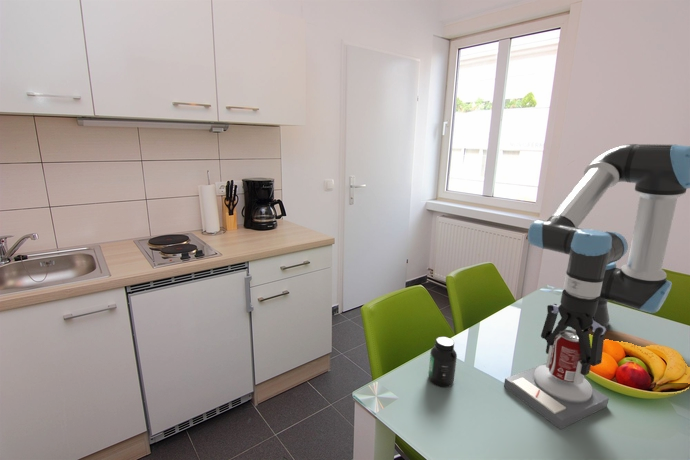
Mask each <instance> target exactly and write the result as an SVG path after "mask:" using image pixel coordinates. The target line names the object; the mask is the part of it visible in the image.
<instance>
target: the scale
mask: <svg viewBox="0 0 690 460" xmlns="http://www.w3.org/2000/svg"><path fill="white" fill-rule="evenodd" d="M546 363H547V362H545V363H543V364H540V365H538V366H534V367H532V368H529V369H527V370H524V371H521V372H518V373H515V374H512V375H509V376H507V377H505V378H504V381H503V382H504V383H503V387H504V388H505V389H507V390H508V391H509V392H511V393H512V394H513V395H515V396H516V397H517V396H518V397H517V398H519V399H520V400H521V401H522V402H524V403H525V404H527V405H528V406H530V408H531V409H533V410H534V411H535V412H537V413H538V414H540V415H541V416H542V417H543V418H545V419H546V420H548V421H549V422H550V423H552V424H553V425H554V426H556V427H557V428H558V429H559V430H563V429H564V428H566V427H568V426H571V425H572V424H574V423H576V422H578V421H580V420H582V419H584V418H586V417H589V416H590V415H592V414H594V413H596V412H598V411H601V410H602V409H605V408H607V407H608V403H609V400H610V398H609V396H607V395H605V394H604V393H602V392H600V391H599V390H597V389H595V388H594V387H592V385H591V383H590V382H589V381H588V380H587V379H586V378H585V377H584V380H583V383H581V384H579V385H577V386H576V385H574V384H573V383H568V382H563V381H560V380H558V379H557V378H555V377H554V376H553V375H551V373H550V372H549V368H547V367H546Z"/></svg>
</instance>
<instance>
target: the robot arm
mask: <svg viewBox="0 0 690 460" xmlns="http://www.w3.org/2000/svg"><path fill="white" fill-rule="evenodd" d="M618 183H632V184H635V185H634V191H635V192H636V193H637V194H638V195H639V200H638V204H637V205H638V206H637V209H636V210H637V211H636V216H635V221H634V226H633V231H632V238H631V242H630V243H631V244H630V247H629V245H628V242H627V240H626V238H625V237H624V236H623V235H622V234H620V233H618V232H616V231H603V230H599V229H591V228H590V229H588V228H579V227H580V225H581V224H582V223H583V221H584V220H585V219H586V218H587V216H589V214H590V213H591V211H592V210H593V209H594V208H595V206H596V205H597V204H598V203H599V202H600V200H601V198H602V197H603V196H604V194H605V193H606V192H607V190H608V189H610V188H612V187H614V186H615V185H617V184H618ZM687 189H690V145H679V144H650V143H649V144H648V143H647V144H638V143H627V144H623V145H620V146H616V147H614V148H611V149H609V150H607V151H604V152H603V153H602V154H600V155H599V156H596V157H595V158H594V159H593V160H592V161H591V162H590V163H588V165H587V166H586V167H585V169H584V171H583V176H582V178H581V179H580V180H579V181H578V183H576V185H575V186H574V187H573V189H571V191H570V192H569V194H568V195H566V197H565V198H564V200H563V201H562V202H561V203H560V204H559V206H558V207H557V208H556V210H554V212H553V213H552V214H551V215H550V217H548V219H547V220H546V221H545V220H535V221H533V222H531V225H530V226H529V228H528V232H527V240H528V244H530V245H531V246H534V247H537V248H541V249H543V250H549V251H552V252H557V253H561V254H565V255H569V256H568V261H567V267H566V271H565V277H564V283H563V290H562V291H561V292H562V293H561V297H560V305H558V304H557V303H552V304H549V305H547V306H546V307H547V314H546V318H545V320H544V325H543V328H542V331H541V334H540V337H541V338H542V339H544V340H545V341H546V349H545V353H546V354H547V358H546V362H545V363H546V367H547V368H549V366H550V361H551V356H552V351H553V346H554V341H555V337H556V336H557V335H558V334H559V331H564V330H567V328H569V327H570V328H571V329H572V330H573V331H575V332H576V335H578V340H579V346H580V353H581V359H582V360H580V361H578V364H577V368H576V373H575V378H574V382H573V384H574V385H576V386H577V385H579V384H581V383H583V380H584V378H585V376H586V375H588V374H590V371H591V367H595V366H597V365H600V364H602V361H603V351H604V342H605V341H604V340H605V335H606V333H607V332H608V330H609V329H608V326H609V324H610V315H609V314H610V313H609V310H608V309H609V308H608V301H610V302H614V303H616V304H620V305H623V306H625V307H626V306H627V307H629V308H633V309H635V310H637V311H643V312H647V313H650V314H654V313H657V312H658V311H660V309H661V308H662V306H663V304H664V303H665V302H666V299H667V297H668V295H669V294H670V291H671V289H672V285H673V283H672V281H670V280H668V279H667V275H668V274H667V272H665V270H664V269H662V268H663V265H664V260H665V255H666V250H667V246H668V242H669V238H670V233H671V228H672V224H673V219H674V214H675V210H676V204H677V201H678V198H679V197H681V196H683V195H685V194H686V192H687ZM628 248H629V254H628V257H627V258H628V259H627V263H625V264H623V265H621V266H620V268H618V267H617V263H616V262H617V261H620V259H621V258H622V257H624V256H625V255H626V254H627V252H628ZM558 314H559V315H560V320H559V321H558V322H557V321H556V320H557V318H558ZM556 322H557V325H556V327H555V324H556ZM591 329H592V332H593V334H592V338H590V334H591ZM590 339H591V340H590Z"/></svg>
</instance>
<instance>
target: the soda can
mask: <svg viewBox="0 0 690 460" xmlns="http://www.w3.org/2000/svg"><path fill="white" fill-rule="evenodd" d="M580 360H582V359H581V353H580V346H579V340H578V335H576V330H573V329H571V330H570V329H566V330H564V331H559V334H558V335H557V336H556V337H555V341H554V346H553V351H552V356H551V361H550V366H549V372H550V373H551V375H553V376H554V377H555V378H557V379H558V380H560V381H563V382H568V383H573V382H574V378H575V373H576V368H577V364H578V361H580Z"/></svg>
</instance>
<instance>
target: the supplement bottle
mask: <svg viewBox="0 0 690 460" xmlns="http://www.w3.org/2000/svg"><path fill="white" fill-rule="evenodd" d="M457 355H458V354H457V352H456V351H455V341H454V340H453V339H452V338H450V337H448V336H438V337H436V338H435V342H434V346H432V348H431V350H430V355H429V365H428V366H429V367H428V380H429V381H430V382H431V383H432V384H433V385H434V386H436V387H439V388H449V387H451V386H452V385H453V384H454V382H455V375H456V365H457V360H458V359H457V357H458V356H457Z"/></svg>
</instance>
